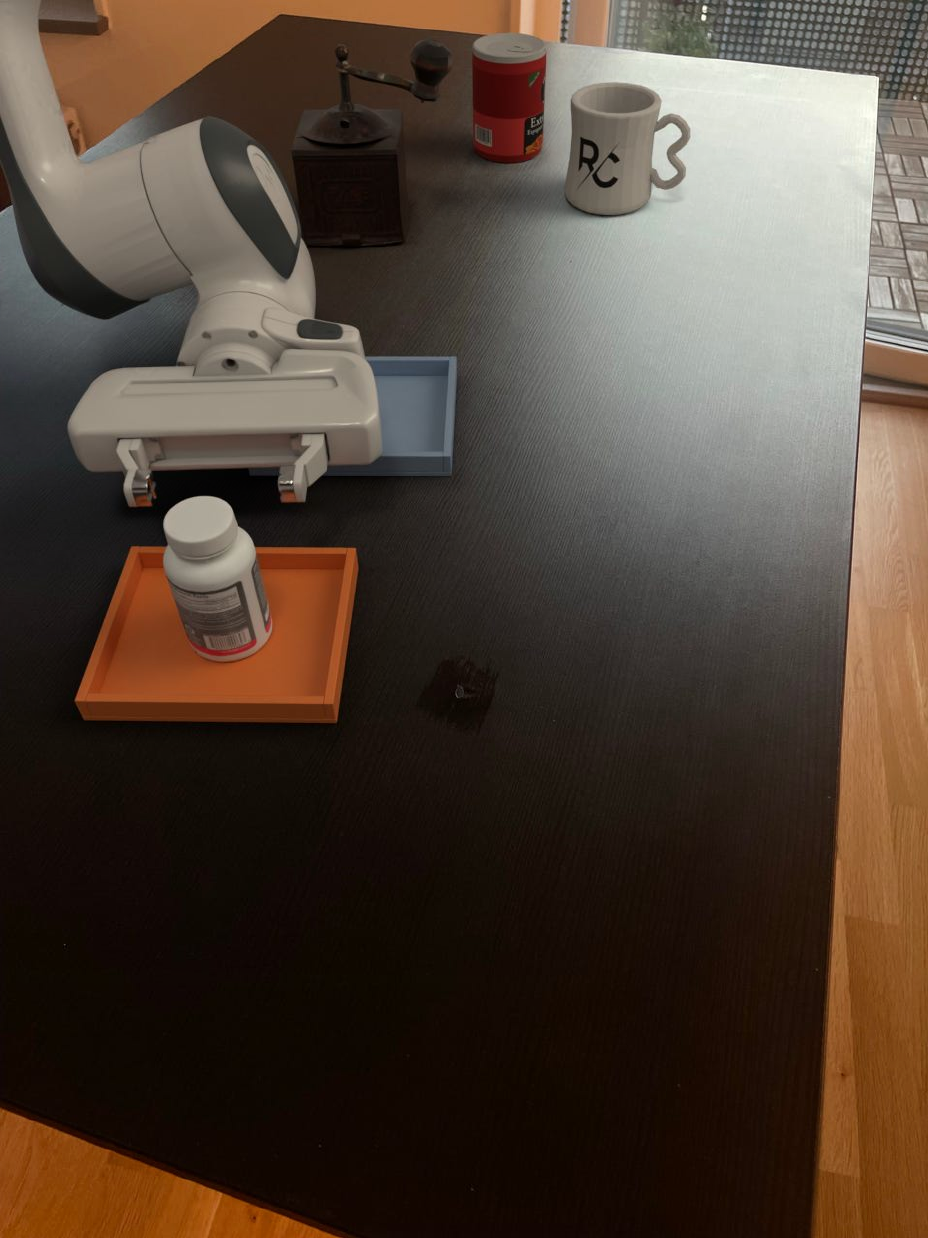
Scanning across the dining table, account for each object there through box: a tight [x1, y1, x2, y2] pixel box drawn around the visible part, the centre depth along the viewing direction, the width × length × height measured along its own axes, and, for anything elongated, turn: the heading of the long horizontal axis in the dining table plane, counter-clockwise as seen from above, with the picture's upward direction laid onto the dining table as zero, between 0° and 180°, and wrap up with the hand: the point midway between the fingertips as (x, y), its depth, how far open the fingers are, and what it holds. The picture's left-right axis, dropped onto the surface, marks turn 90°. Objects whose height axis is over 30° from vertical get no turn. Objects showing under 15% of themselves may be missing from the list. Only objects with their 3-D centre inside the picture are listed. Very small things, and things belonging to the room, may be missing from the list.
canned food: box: [471, 32, 547, 164], centre depth 110 cm, size 8×8×11 cm
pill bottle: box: [162, 495, 272, 662], centre depth 60 cm, size 5×5×10 cm
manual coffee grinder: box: [290, 38, 454, 248], centre depth 96 cm, size 16×11×18 cm
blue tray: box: [247, 355, 458, 477], centre depth 78 cm, size 15×13×2 cm
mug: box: [564, 81, 691, 216], centre depth 101 cm, size 12×9×10 cm
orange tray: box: [74, 545, 359, 724], centre depth 63 cm, size 15×13×2 cm
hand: (214, 496), depth 61 cm, fingers open, 8 cm apart
